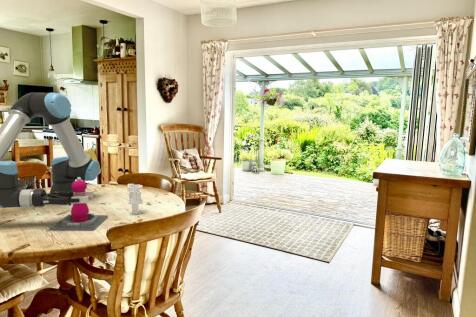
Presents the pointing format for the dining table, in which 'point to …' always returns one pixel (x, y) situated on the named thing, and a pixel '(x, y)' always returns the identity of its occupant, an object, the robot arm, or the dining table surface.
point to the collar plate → (79, 223)
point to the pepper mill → (79, 209)
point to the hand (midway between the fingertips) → (90, 196)
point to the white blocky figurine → (135, 197)
